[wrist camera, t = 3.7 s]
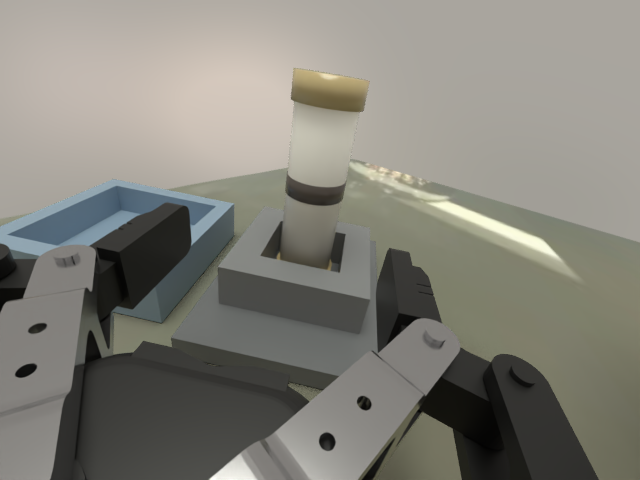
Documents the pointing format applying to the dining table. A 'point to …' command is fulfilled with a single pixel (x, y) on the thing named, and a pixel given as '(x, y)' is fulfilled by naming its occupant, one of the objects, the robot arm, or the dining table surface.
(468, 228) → the dining table surface
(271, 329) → the block
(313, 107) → the capped white cylinder
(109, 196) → the parts tray
